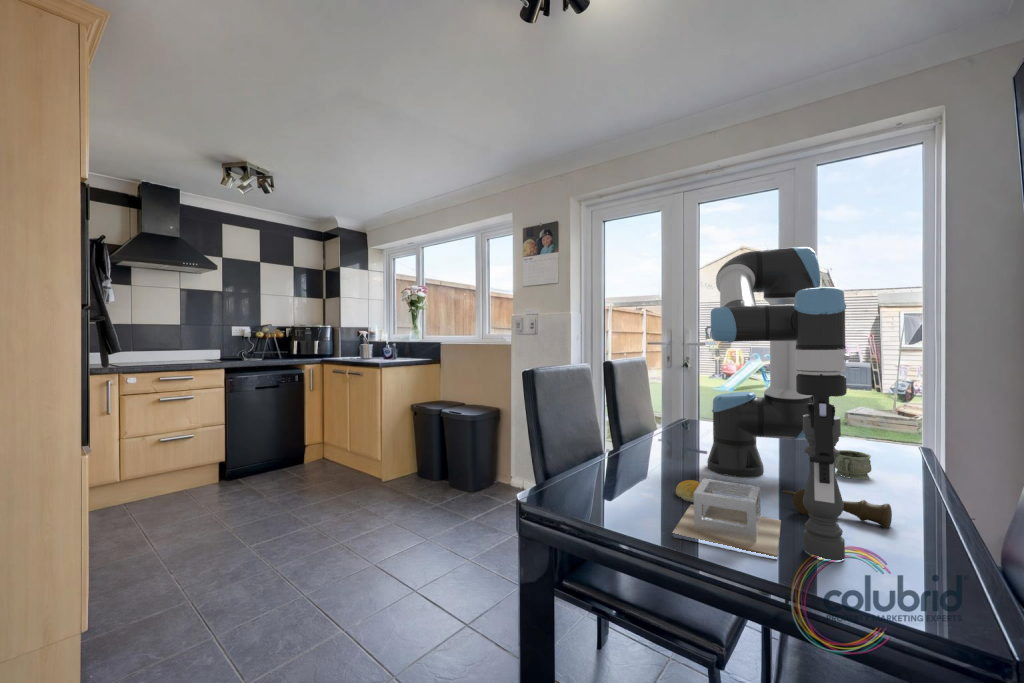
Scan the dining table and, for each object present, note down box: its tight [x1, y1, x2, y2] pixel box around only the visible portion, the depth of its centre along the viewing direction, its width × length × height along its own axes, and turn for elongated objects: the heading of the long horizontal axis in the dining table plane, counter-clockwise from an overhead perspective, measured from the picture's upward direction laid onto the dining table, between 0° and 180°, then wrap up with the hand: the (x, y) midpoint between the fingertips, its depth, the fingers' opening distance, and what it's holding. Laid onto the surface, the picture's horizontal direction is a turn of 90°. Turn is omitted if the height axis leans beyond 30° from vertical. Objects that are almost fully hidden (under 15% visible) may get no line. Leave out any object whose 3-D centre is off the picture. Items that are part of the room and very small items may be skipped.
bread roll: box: [675, 479, 714, 503], centre depth 111 cm, size 8×9×4 cm
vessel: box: [835, 449, 872, 480], centre depth 127 cm, size 12×9×6 cm
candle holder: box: [802, 415, 846, 560], centre depth 81 cm, size 6×6×25 cm
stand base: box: [671, 504, 782, 557], centre depth 91 cm, size 18×18×1 cm
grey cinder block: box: [693, 478, 762, 543], centre depth 91 cm, size 11×11×8 cm
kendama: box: [782, 488, 893, 530], centre depth 99 cm, size 6×10×20 cm
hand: (822, 489), depth 81 cm, fingers open, 13 cm apart
